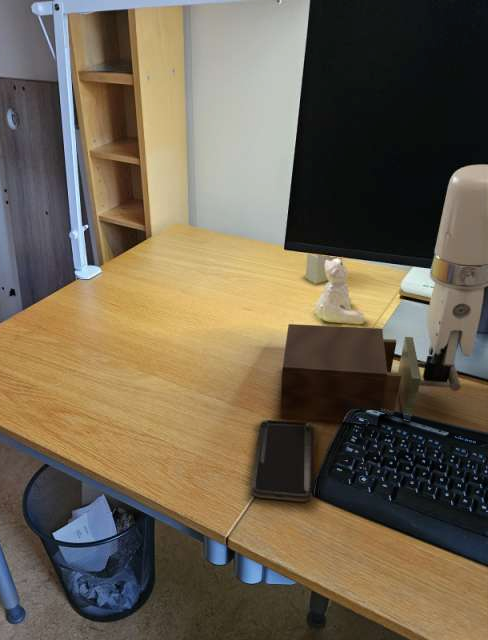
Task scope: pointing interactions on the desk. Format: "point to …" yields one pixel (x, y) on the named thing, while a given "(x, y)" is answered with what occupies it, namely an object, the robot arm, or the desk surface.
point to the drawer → (408, 377)
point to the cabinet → (332, 372)
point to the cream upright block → (317, 267)
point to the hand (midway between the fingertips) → (434, 381)
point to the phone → (284, 461)
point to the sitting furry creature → (337, 296)
